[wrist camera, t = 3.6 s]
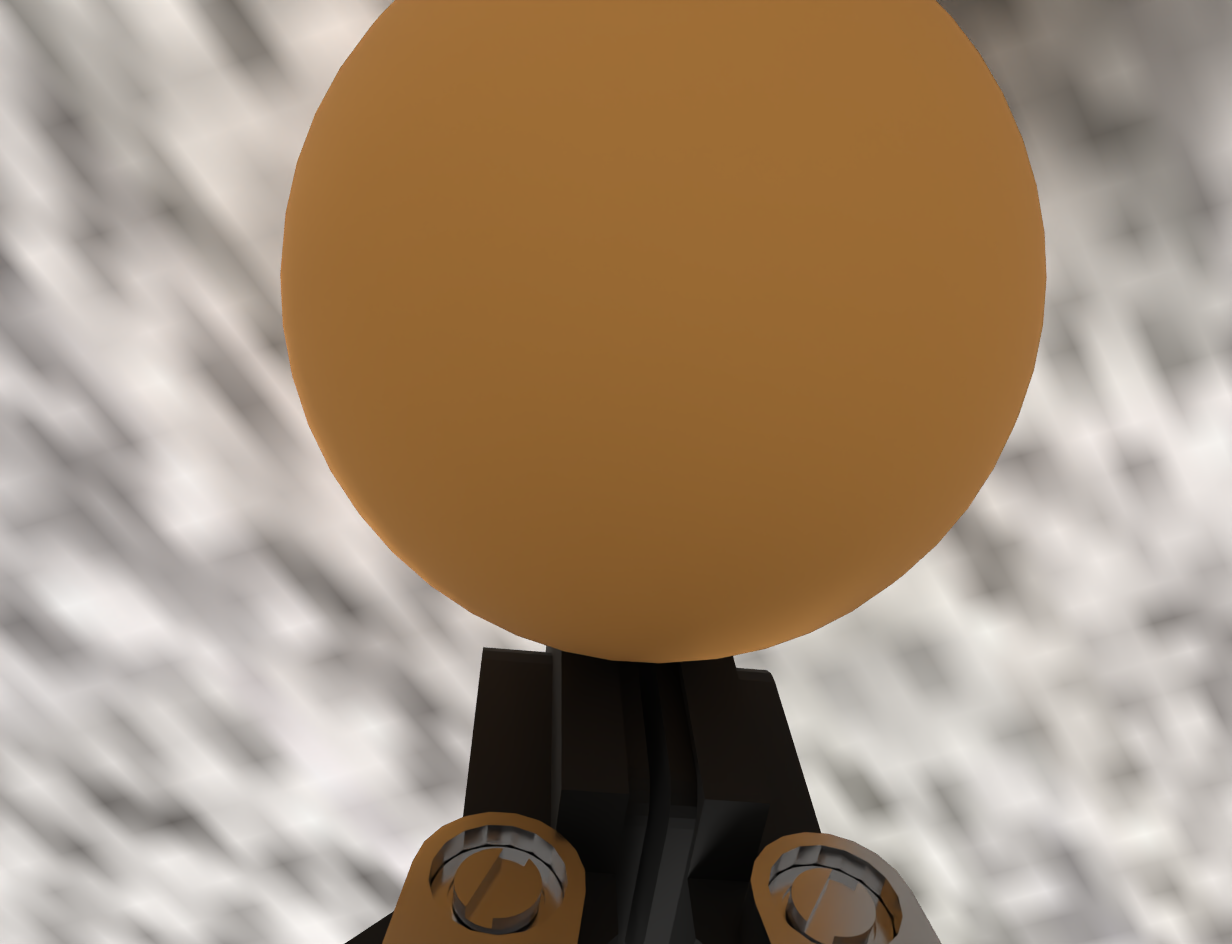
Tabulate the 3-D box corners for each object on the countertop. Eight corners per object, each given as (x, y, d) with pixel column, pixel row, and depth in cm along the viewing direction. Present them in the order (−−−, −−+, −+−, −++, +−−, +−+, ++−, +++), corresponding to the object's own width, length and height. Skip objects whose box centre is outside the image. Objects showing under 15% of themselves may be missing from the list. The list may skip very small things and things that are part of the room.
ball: (332, 609, 11) (166, 768, 5) (341, 59, 11) (188, -418, 5) (859, 608, 12) (1245, 745, 6) (868, 97, 12) (1260, -279, 6)
